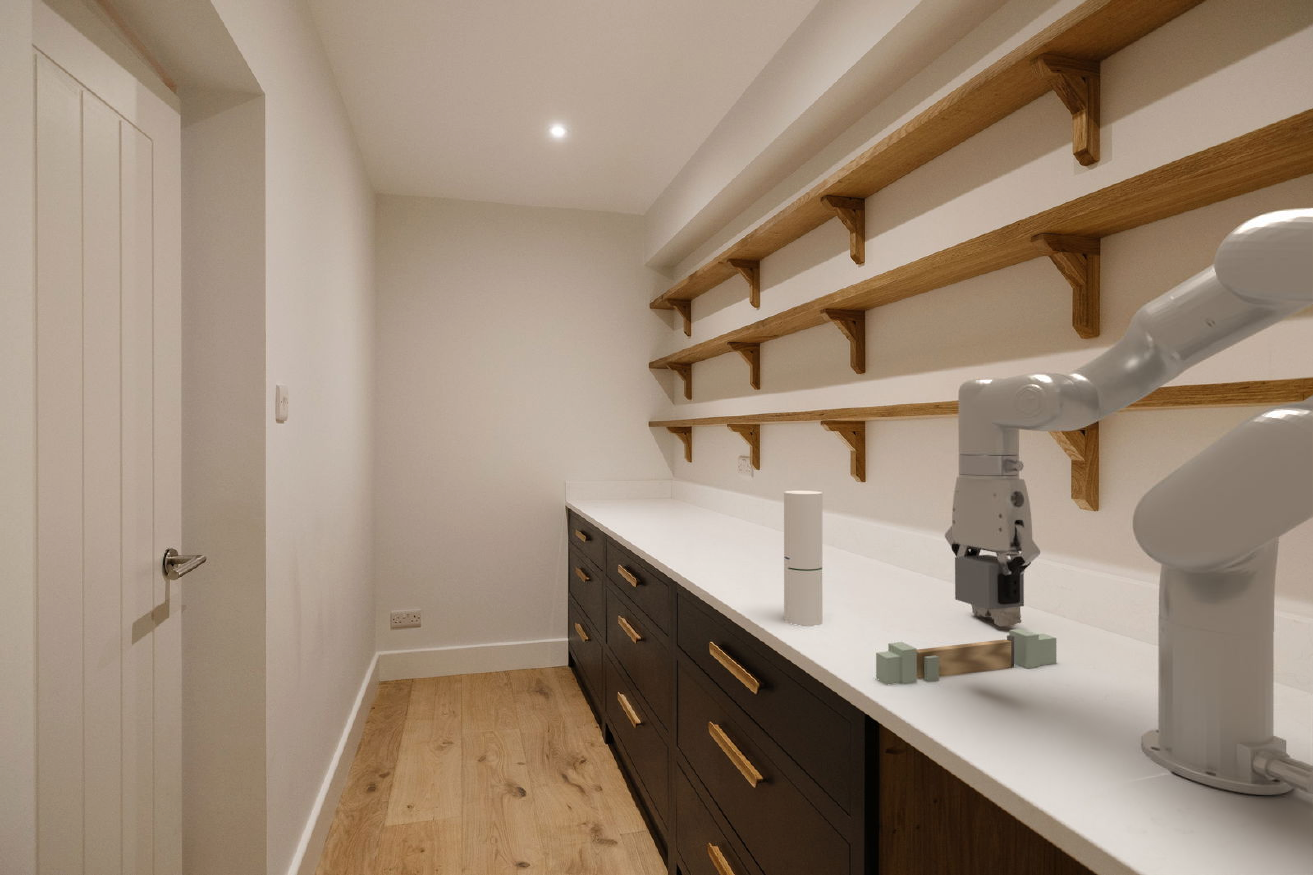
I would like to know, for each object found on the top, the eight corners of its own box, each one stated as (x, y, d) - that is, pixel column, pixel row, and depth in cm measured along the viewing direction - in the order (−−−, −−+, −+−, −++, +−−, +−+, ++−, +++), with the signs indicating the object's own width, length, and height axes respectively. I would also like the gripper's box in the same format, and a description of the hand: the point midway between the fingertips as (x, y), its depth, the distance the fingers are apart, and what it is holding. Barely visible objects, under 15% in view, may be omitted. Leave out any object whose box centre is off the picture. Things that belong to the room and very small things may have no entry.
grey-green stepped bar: (1059, 664, 101) (1059, 632, 100) (889, 687, 91) (889, 652, 91) (1041, 657, 104) (1041, 626, 104) (874, 679, 95) (874, 645, 95)
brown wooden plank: (1002, 661, 102) (1002, 632, 102) (1016, 666, 100) (1016, 637, 100) (906, 673, 97) (906, 642, 97) (918, 679, 94) (918, 648, 94)
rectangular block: (1023, 606, 88) (1023, 562, 88) (988, 610, 86) (988, 564, 86) (988, 596, 93) (988, 554, 93) (955, 599, 92) (954, 557, 92)
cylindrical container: (809, 616, 128) (809, 490, 128) (829, 626, 121) (829, 493, 121) (777, 619, 125) (777, 491, 125) (796, 630, 119) (796, 494, 119)
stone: (1027, 628, 115) (1024, 571, 117) (993, 625, 116) (991, 568, 118) (998, 627, 127) (995, 576, 130) (967, 624, 128) (965, 573, 131)
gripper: (1065, 470, 83) (1065, 611, 83) (962, 465, 99) (963, 582, 99) (1019, 471, 80) (1020, 616, 80) (922, 466, 97) (923, 586, 97)
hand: (988, 596), depth 90 cm, fingers closed on rectangular block, 6 cm apart
